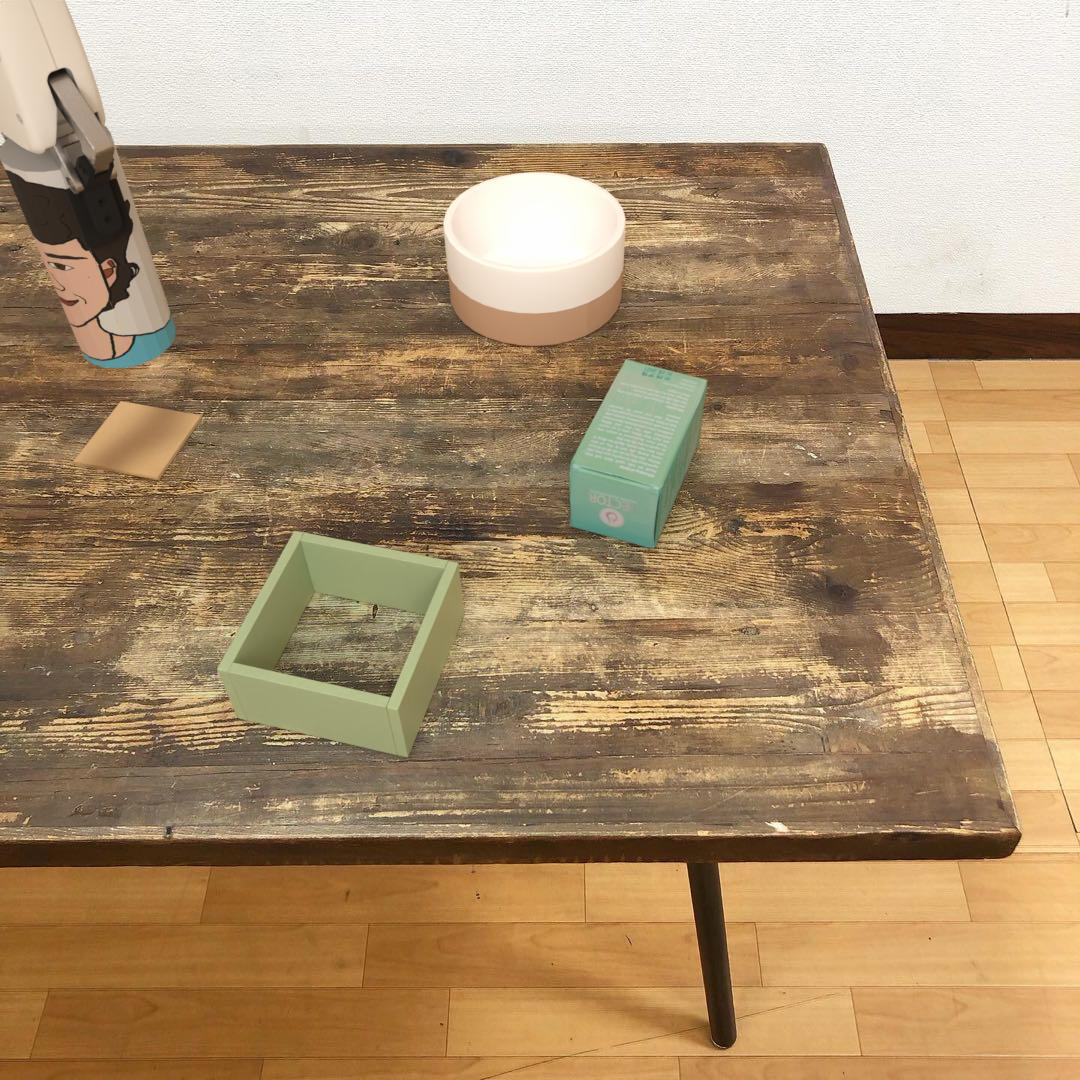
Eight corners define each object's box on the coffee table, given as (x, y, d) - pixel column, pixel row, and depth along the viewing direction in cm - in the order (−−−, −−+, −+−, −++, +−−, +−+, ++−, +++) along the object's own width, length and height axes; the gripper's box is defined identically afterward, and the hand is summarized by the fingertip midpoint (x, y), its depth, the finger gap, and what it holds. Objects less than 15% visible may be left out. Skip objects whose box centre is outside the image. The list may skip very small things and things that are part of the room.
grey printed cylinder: (91, 313, 80) (14, 120, 69) (182, 308, 80) (121, 115, 69) (70, 370, 75) (-15, 174, 64) (167, 365, 75) (98, 169, 64)
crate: (237, 718, 74) (216, 669, 70) (308, 582, 82) (294, 530, 78) (408, 758, 72) (397, 709, 68) (464, 614, 80) (458, 562, 76)
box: (565, 530, 85) (566, 463, 80) (619, 423, 94) (623, 356, 88) (654, 555, 84) (661, 488, 78) (700, 444, 92) (710, 376, 86)
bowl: (587, 364, 99) (589, 288, 93) (420, 324, 104) (411, 249, 97) (645, 263, 110) (650, 189, 103) (491, 231, 114) (487, 158, 108)
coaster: (74, 464, 91) (73, 461, 91) (122, 404, 97) (120, 400, 96) (158, 480, 90) (157, 477, 90) (202, 418, 95) (201, 415, 95)
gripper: (-166, -104, 59) (-32, 189, 73) (-28, -18, 51) (95, 296, 64) (-35, -137, 63) (70, 149, 76) (114, -61, 54) (202, 245, 68)
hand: (80, 214), depth 70 cm, fingers closed on grey printed cylinder, 6 cm apart
